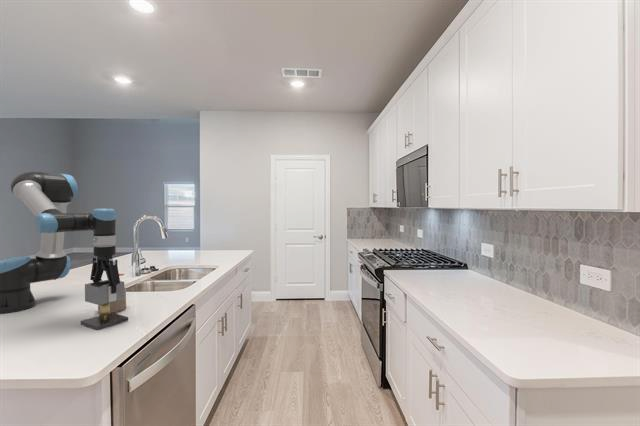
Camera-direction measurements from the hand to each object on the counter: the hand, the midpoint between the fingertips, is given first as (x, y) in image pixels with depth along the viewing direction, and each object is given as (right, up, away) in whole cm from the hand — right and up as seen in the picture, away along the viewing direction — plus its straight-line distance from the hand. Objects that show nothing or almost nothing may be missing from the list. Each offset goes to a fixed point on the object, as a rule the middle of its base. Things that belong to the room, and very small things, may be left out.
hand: (105, 299), depth 129 cm
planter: (-7, -10, +15) cm, 19 cm away
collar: (0, 0, 0) cm, 0 cm away
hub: (0, -10, 0) cm, 10 cm away
